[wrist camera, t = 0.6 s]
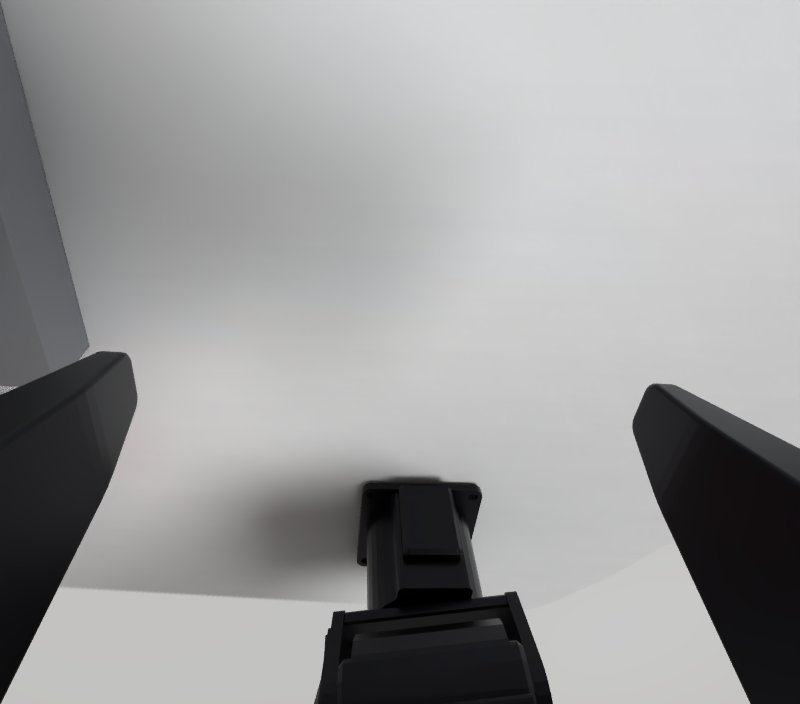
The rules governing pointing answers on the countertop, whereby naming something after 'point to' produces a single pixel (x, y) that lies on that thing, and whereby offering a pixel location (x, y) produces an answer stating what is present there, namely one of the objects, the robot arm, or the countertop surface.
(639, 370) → the countertop surface
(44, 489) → the robot arm
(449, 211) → the countertop surface
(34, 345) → the grey long block
